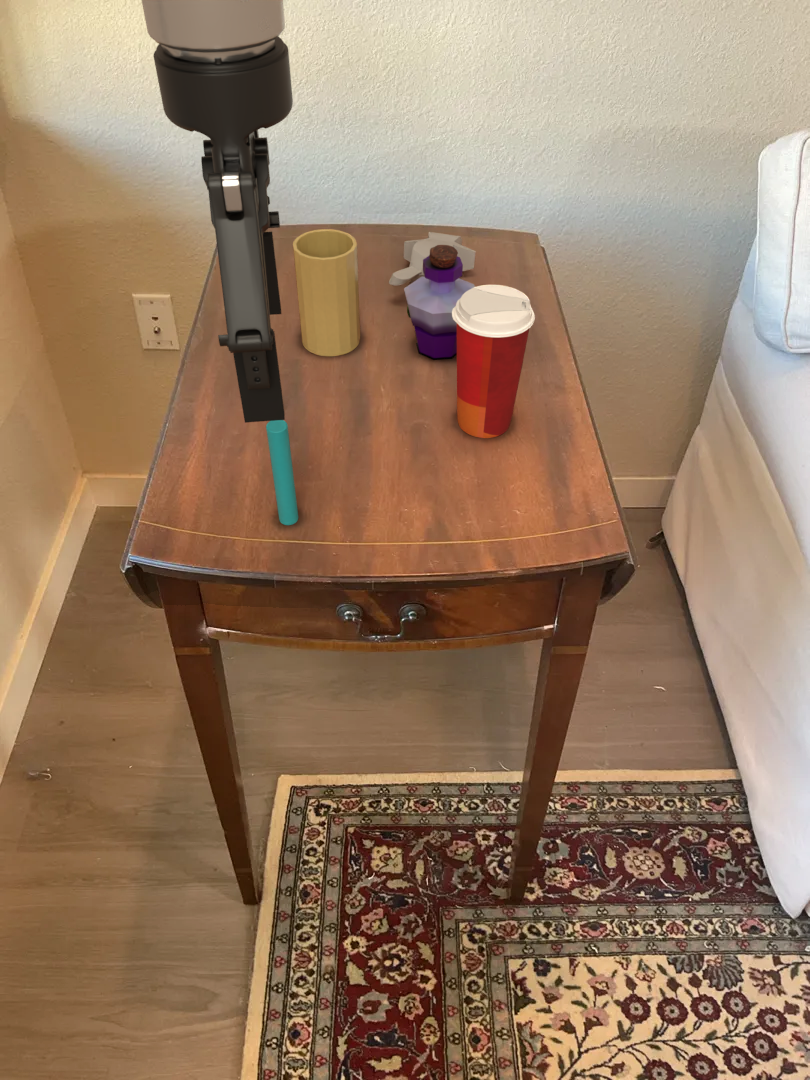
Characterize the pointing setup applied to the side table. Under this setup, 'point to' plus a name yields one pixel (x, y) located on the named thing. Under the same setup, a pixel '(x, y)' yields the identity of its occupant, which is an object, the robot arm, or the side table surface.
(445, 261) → the potion bottle
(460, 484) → the side table surface
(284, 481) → the teal cylinder rod
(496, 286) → the paper cup
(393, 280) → the bunny figurine
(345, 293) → the can
